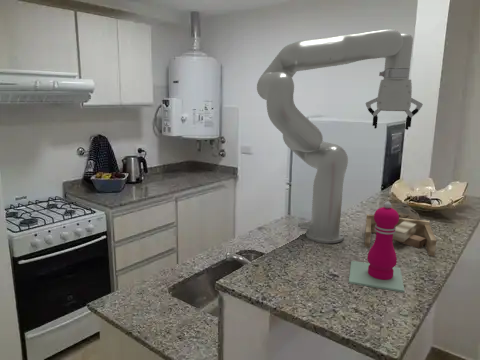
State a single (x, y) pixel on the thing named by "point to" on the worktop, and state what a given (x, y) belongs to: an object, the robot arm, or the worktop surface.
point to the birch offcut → (404, 231)
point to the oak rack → (421, 230)
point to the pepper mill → (383, 244)
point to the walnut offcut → (414, 241)
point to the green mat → (363, 278)
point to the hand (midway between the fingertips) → (390, 128)
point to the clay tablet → (405, 211)
